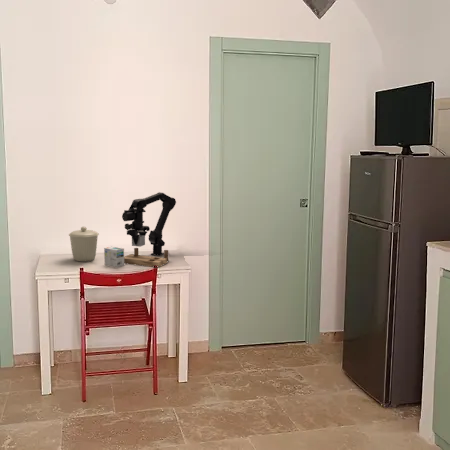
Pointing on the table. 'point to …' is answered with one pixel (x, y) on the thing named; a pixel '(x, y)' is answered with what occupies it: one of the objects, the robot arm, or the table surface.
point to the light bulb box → (114, 256)
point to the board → (144, 259)
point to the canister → (83, 244)
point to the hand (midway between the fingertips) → (138, 243)
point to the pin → (166, 254)
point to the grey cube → (139, 241)
